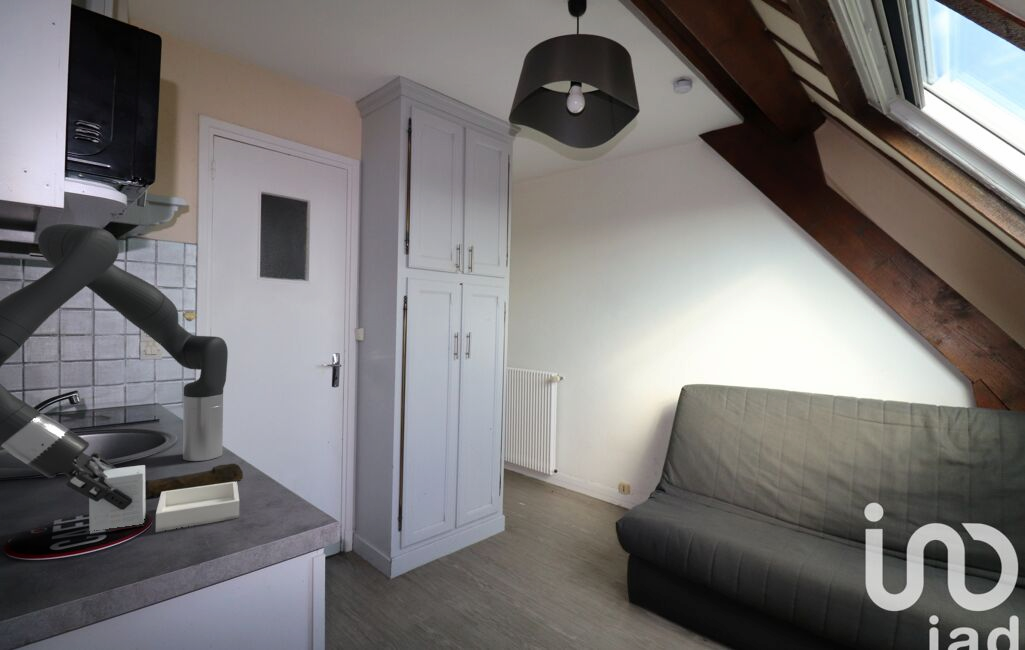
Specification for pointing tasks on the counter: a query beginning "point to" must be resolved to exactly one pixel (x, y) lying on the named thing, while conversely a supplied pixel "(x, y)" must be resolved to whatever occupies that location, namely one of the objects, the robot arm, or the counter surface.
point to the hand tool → (194, 479)
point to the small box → (129, 484)
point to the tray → (197, 506)
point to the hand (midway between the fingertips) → (130, 499)
